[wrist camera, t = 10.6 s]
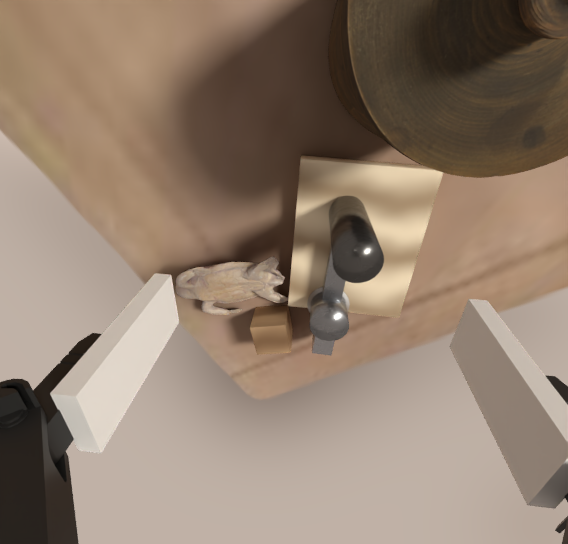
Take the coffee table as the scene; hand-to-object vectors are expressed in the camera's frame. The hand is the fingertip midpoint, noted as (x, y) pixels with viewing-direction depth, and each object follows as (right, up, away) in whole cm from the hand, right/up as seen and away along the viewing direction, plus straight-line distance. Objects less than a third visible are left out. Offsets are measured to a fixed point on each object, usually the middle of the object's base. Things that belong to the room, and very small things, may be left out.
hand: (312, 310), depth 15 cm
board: (+7, +6, +23) cm, 25 cm away
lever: (+5, +1, +23) cm, 24 cm away
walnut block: (-3, -5, +30) cm, 31 cm away
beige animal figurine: (-7, +1, +28) cm, 29 cm away
